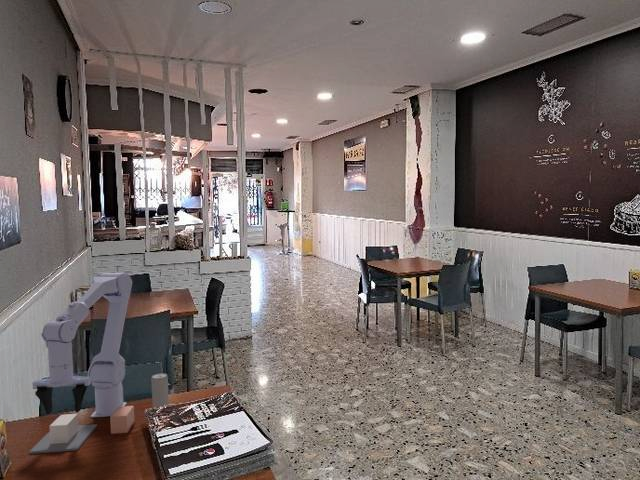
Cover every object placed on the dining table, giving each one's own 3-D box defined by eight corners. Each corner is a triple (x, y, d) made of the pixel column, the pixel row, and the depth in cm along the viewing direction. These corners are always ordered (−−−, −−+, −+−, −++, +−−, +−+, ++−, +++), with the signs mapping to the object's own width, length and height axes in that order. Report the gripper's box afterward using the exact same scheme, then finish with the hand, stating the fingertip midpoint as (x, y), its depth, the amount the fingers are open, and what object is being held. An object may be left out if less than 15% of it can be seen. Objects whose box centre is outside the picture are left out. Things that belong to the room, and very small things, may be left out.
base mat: (53, 429, 135) (53, 427, 135) (96, 426, 136) (96, 424, 136) (29, 453, 121) (29, 451, 121) (77, 450, 122) (77, 448, 122)
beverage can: (163, 417, 141) (162, 379, 140) (149, 416, 142) (148, 378, 141) (172, 410, 146) (170, 373, 145) (158, 409, 147) (156, 372, 146)
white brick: (62, 431, 132) (61, 414, 131) (78, 430, 132) (77, 413, 132) (50, 444, 125) (49, 426, 124) (68, 442, 125) (67, 424, 125)
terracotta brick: (118, 423, 138) (118, 406, 138) (134, 421, 139) (133, 405, 139) (111, 434, 131) (110, 416, 131) (127, 432, 132) (126, 415, 132)
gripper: (25, 370, 123) (28, 420, 123) (82, 367, 124) (85, 416, 125) (38, 361, 130) (41, 408, 130) (92, 358, 131) (95, 405, 132)
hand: (63, 411), depth 128 cm, fingers open, 7 cm apart
